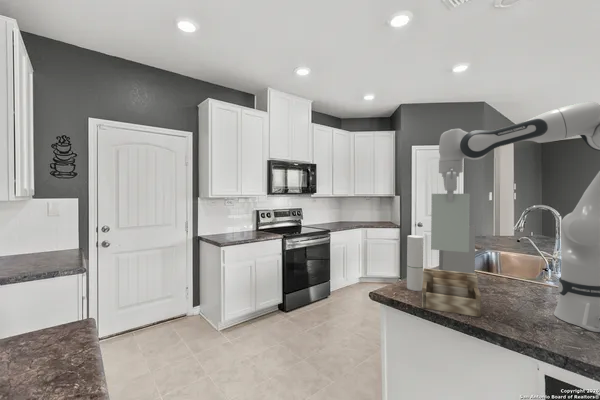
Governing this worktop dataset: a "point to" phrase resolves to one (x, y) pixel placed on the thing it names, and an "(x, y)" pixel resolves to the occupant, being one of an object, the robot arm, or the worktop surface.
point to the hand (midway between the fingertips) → (450, 201)
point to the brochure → (459, 257)
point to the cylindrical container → (415, 262)
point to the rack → (451, 302)
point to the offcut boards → (450, 284)
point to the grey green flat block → (450, 222)
